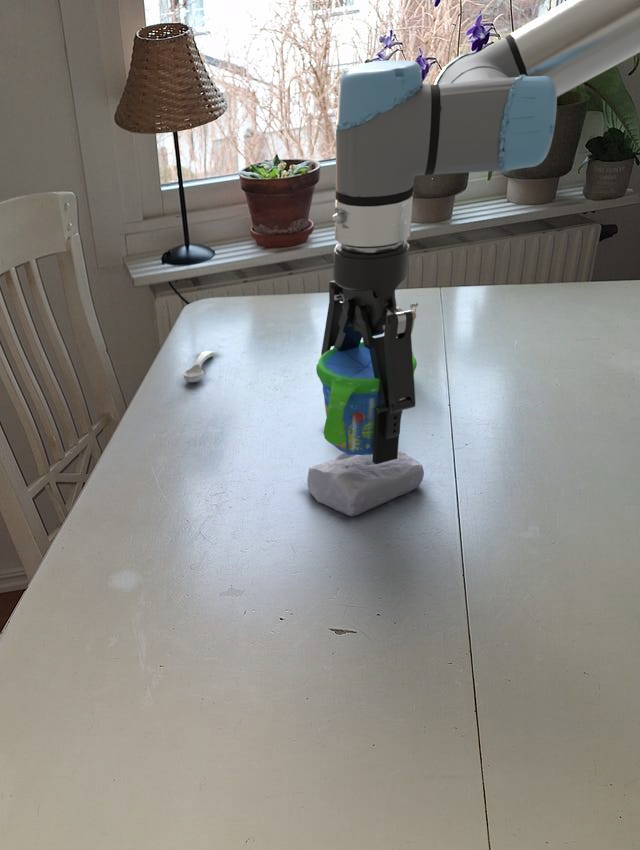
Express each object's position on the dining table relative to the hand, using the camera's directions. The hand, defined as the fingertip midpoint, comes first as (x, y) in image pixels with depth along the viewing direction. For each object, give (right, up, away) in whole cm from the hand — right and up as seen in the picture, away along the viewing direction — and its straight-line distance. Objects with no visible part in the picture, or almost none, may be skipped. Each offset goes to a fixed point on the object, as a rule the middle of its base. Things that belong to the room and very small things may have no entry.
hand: (362, 441), depth 107 cm
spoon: (-17, +19, +36) cm, 44 cm away
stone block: (+1, -5, +4) cm, 6 cm away
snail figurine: (+11, +14, +27) cm, 32 cm away
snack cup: (0, 0, 0) cm, 0 cm away
